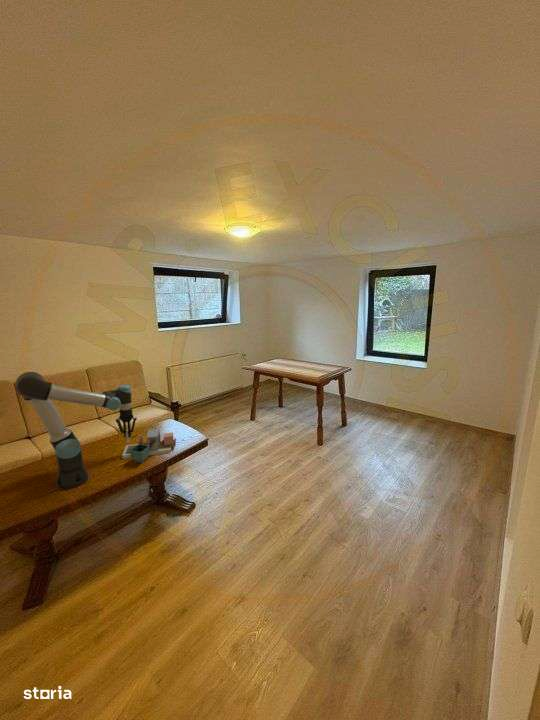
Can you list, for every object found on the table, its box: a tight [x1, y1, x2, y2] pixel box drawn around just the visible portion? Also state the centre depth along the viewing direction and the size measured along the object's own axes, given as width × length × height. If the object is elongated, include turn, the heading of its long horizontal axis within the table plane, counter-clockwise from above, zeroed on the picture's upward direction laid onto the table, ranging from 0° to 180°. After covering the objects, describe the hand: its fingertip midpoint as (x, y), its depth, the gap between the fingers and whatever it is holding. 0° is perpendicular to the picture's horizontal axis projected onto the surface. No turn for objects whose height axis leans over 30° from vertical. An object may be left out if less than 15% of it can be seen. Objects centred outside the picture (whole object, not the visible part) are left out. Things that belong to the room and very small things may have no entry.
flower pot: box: [130, 443, 150, 464], centre depth 187 cm, size 9×9×9 cm
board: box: [121, 443, 172, 460], centre depth 201 cm, size 30×14×3 cm, turn 106°
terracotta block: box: [163, 432, 175, 445], centre depth 203 cm, size 6×6×6 cm
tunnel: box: [146, 428, 161, 451], centre depth 201 cm, size 7×12×10 cm, turn 16°
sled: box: [138, 436, 177, 448], centre depth 202 cm, size 23×8×6 cm, turn 106°
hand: (127, 442), depth 196 cm, fingers closed
